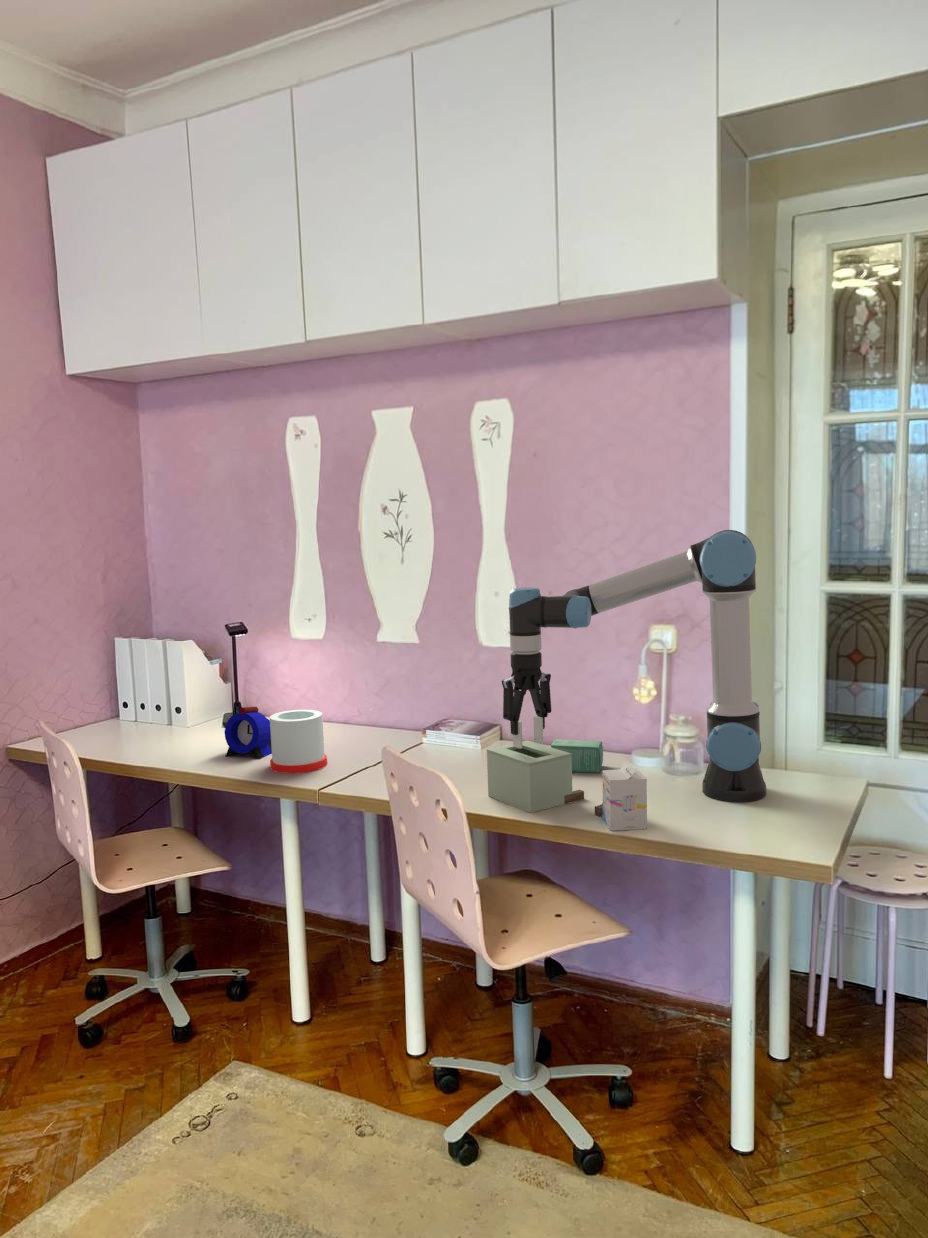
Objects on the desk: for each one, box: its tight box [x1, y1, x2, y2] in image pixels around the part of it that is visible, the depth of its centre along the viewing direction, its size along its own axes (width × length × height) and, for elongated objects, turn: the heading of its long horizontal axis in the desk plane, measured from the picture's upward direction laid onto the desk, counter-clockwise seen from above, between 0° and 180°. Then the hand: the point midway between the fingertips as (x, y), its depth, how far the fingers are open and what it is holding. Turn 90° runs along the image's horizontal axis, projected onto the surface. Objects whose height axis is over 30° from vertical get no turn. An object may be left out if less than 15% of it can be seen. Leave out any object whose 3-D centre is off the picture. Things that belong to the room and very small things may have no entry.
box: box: [550, 738, 604, 774], centre depth 259 cm, size 7×14×8 cm, turn 76°
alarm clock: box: [224, 706, 272, 760], centre depth 286 cm, size 12×12×15 cm
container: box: [269, 709, 328, 774], centre depth 271 cm, size 16×16×15 cm
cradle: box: [564, 789, 603, 818], centre depth 227 cm, size 14×6×2 cm, turn 35°
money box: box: [486, 740, 573, 814], centre depth 234 cm, size 17×13×12 cm
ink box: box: [602, 761, 648, 832], centre depth 214 cm, size 9×8×13 cm
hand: (528, 744), depth 233 cm, fingers open, 6 cm apart
